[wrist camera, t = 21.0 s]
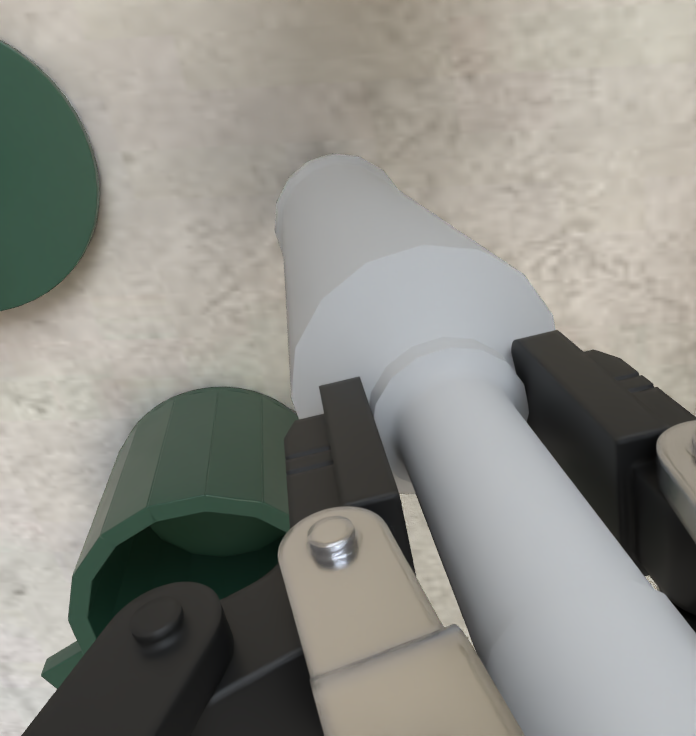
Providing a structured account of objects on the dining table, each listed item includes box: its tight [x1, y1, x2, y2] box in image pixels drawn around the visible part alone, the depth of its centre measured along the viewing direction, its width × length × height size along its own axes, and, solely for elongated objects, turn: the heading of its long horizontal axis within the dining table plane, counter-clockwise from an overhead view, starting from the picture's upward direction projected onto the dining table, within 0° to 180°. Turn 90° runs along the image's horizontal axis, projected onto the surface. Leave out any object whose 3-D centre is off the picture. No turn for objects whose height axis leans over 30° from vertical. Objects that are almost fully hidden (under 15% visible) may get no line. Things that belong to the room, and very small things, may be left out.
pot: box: [41, 387, 299, 689], centre depth 33 cm, size 12×17×10 cm
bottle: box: [275, 153, 696, 736], centre depth 16 cm, size 5×5×25 cm
